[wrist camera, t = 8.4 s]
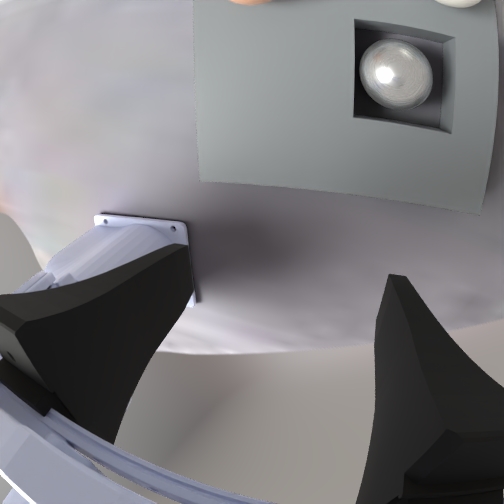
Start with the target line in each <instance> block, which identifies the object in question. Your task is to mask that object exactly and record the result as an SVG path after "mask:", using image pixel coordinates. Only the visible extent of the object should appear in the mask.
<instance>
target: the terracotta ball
mask: <svg viewBox="0 0 504 504" xmlns="http://www.w3.org/2000/svg"><path fill="white" fill-rule="evenodd" d="M229 1H231V2H234V3H237V4H242V5H260V4H264V3H268V2H270V1H273V0H229Z"/></svg>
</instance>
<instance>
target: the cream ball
mask: <svg viewBox="0 0 504 504" xmlns="http://www.w3.org/2000/svg"><path fill="white" fill-rule="evenodd" d="M435 1H437V2H439V3H441V4H444V5H447V6H451V7H456V8H465V7H470V6H473V5H475V4H477V3H479V2H480V1H481V0H435Z"/></svg>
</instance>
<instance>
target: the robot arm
mask: <svg viewBox="0 0 504 504" xmlns="http://www.w3.org/2000/svg"><path fill="white" fill-rule="evenodd" d="M106 219H107V220H106ZM94 221H95V227H93V228H92V229H91V230H89V231H88V232H86V233H85V234H83V235H82V236H80V237H79V238H78V239H76V240H75V241H73V242H72V243H71V244H69V245H68V246H66V247H65V248H64V249H62V250H61V251H59V252H58V253H57V254H55V255H54V256H53V257H52V258H51V260H50V261H49V262H48V264H47V266H46V268H45V270H44V271H39V272H38V273H37V274H35V275H34V276H33V277H32V278H30V279H29V280H28V281H27V282H26V283H24V284H23V285H22V286H21V287H19V288H18V289H17V290H16V291H15V292H13V293H12V294H4V295H0V474H1V475H2V477H3V478H4V479H5V480H6V481H7V482H8V483H9V484H10V485H11V486H12V487H13V488H12V490H11V491H10V492H9V494H8V495H7V497H6V498H5V500H4V501H3V503H2V504H157V503H156V502H153V501H151V500H149V499H147V498H145V497H142V496H141V495H139V494H137V493H135V492H133V491H131V490H129V489H127V488H125V487H123V486H121V485H119V484H117V483H116V482H114V481H112V480H110V479H109V478H107V477H106V476H105V475H104V474H103V473H102V472H101V471H99V470H98V469H97V468H96V467H95V466H94V465H93V463H92V462H91V461H90V460H88V459H87V458H86V457H84V456H83V455H81V454H80V453H82V454H84V455H86V456H87V457H89V458H90V459H92V460H94V461H95V462H97V463H99V464H100V465H102V466H104V467H106V468H107V469H109V470H111V471H113V472H115V473H117V474H118V475H120V476H122V477H124V478H126V479H128V480H130V481H132V482H134V483H136V484H138V485H140V486H143V487H145V488H147V489H149V490H151V491H153V492H155V493H158V494H160V495H162V496H165V497H167V498H169V499H172V500H174V501H177V502H179V503H182V504H277V503H272V502H268V501H263V500H259V499H255V498H251V497H247V496H243V495H240V494H236V493H232V492H229V491H225V490H222V489H219V488H216V487H213V486H209V485H206V484H203V483H200V482H198V481H195V480H191V479H189V478H186V477H184V476H181V475H178V474H176V473H173V472H171V471H168V470H166V469H163V468H161V467H159V466H156V465H154V464H152V463H150V462H147V461H145V460H143V459H141V458H139V457H136V456H134V455H132V454H130V453H128V452H126V451H124V450H122V449H120V448H118V447H116V446H114V442H115V439H116V436H117V433H118V430H119V427H120V424H121V421H122V418H123V416H124V413H125V412H126V410H127V409H128V407H129V405H130V402H131V399H132V395H133V392H134V390H135V388H136V386H137V384H138V382H139V380H140V378H141V376H142V374H143V372H144V370H145V368H146V366H147V364H148V363H149V361H150V359H151V358H152V356H153V354H154V353H155V351H156V350H157V348H158V347H159V346H160V344H161V343H162V341H163V340H164V338H165V337H166V336H167V334H168V333H169V331H170V330H171V329H172V327H173V326H174V324H175V323H176V321H177V320H178V319H179V317H180V316H181V314H182V313H183V311H184V310H185V308H186V306H187V307H194V306H195V304H196V297H195V290H194V283H193V275H192V268H191V260H190V252H189V243H188V235H187V227H186V225H185V224H184V223H183V222H178V221H169V220H159V219H149V218H139V217H128V216H118V215H107V214H97V215H95V217H94ZM173 226H174V227H175V228H176V230H175V229H174V228H173ZM374 348H375V349H374V352H375V388H376V389H375V395H376V396H375V398H376V399H375V413H374V420H373V428H372V434H371V440H370V446H369V451H368V457H367V462H366V466H365V470H364V475H363V479H362V483H361V487H360V490H359V494H358V497H357V501H356V504H504V498H503V489H504V388H503V387H502V386H501V385H500V384H498V383H497V382H496V381H495V380H493V379H492V378H491V377H490V376H489V375H487V374H486V373H485V372H484V371H483V370H482V369H481V368H480V367H479V366H478V365H477V364H476V363H475V362H473V361H472V360H471V359H470V358H469V357H468V356H467V354H466V353H465V352H464V351H463V350H462V349H461V348H460V347H459V346H458V345H457V344H456V343H455V341H454V340H453V339H452V338H451V337H450V336H449V335H448V333H447V332H446V331H445V329H444V328H443V327H442V326H441V324H440V323H439V322H438V321H437V319H436V318H435V317H434V315H433V314H432V313H431V311H430V310H429V308H428V307H427V306H426V304H425V303H424V301H423V300H422V298H421V297H420V296H419V294H418V293H417V291H416V290H415V288H414V287H413V285H412V284H411V283H410V281H409V280H408V278H407V277H406V276H401V275H394V274H389V275H388V279H387V283H386V287H385V291H384V294H383V298H382V302H381V305H380V309H379V312H378V316H377V319H376V329H375V342H374ZM75 449H76V450H77V451H79V452H80V453H79V452H77V451H76V450H75Z"/></svg>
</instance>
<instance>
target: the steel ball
mask: <svg viewBox="0 0 504 504" xmlns="http://www.w3.org/2000/svg"><path fill="white" fill-rule="evenodd" d="M359 73H360V79H361V82H362V85H363V87H364V89H365V90H366V92H367V93H368V94H369V95H370V97H371V98H372V99H373V100H375V101H376V102H377V103H379V104H380V105H382V106H384V107H386V108H389V109H393V110H409V109H413V108H415V107H417V106H419V105H420V104H422V103H423V102H424V101H425V100H426V99H427V97H428V96H429V94H430V92H431V89H432V85H433V73H432V69H431V66H430V64H429V62H428V60H427V58H426V57H425V55H424V54H423V53H422V52H421V51H420V50H419V49H418V48H416V47H415V46H414V45H412V44H410V43H408V42H406V41H403V40H399V39H384V40H380V41H377V42H375V43H374V44H372V45H371V46H370V47H368V49H367V50H366V51H365V52H364V54H363V56H362V58H361V61H360V66H359Z"/></svg>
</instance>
